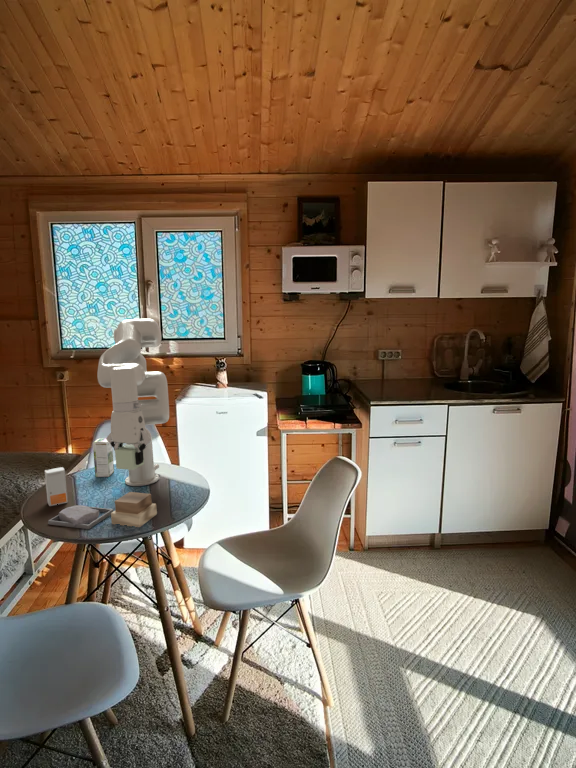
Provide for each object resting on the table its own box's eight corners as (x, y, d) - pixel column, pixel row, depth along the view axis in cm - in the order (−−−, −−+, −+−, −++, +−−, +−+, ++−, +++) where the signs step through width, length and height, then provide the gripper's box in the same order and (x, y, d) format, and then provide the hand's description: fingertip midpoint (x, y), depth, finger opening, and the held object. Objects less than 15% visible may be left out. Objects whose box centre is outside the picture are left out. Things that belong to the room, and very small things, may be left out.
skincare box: (49, 507, 174) (45, 473, 172) (47, 503, 177) (43, 470, 176) (68, 502, 177) (65, 469, 175) (66, 499, 181) (62, 466, 179)
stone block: (85, 517, 171) (55, 522, 164) (86, 503, 172) (56, 507, 164) (104, 525, 164) (74, 530, 156) (105, 510, 164) (75, 515, 156)
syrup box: (100, 472, 208) (97, 438, 206) (114, 472, 208) (111, 437, 206) (95, 477, 203) (91, 442, 200) (109, 477, 202) (106, 441, 200)
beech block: (130, 512, 169) (129, 500, 168) (157, 515, 166) (156, 503, 165) (111, 525, 159) (110, 513, 159) (139, 528, 156) (138, 516, 156)
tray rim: (75, 508, 172) (75, 505, 172) (113, 512, 168) (113, 509, 168) (48, 524, 160) (48, 520, 160) (88, 529, 156) (88, 525, 156)
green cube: (127, 462, 164) (126, 444, 163) (144, 463, 162) (142, 445, 161) (116, 468, 158) (114, 449, 157) (133, 469, 156) (131, 451, 155)
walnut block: (130, 501, 167) (129, 491, 167) (151, 504, 165) (151, 493, 164) (115, 511, 160) (114, 501, 159) (137, 514, 157) (136, 503, 157)
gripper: (157, 405, 158) (160, 461, 161) (109, 403, 163) (114, 457, 166) (143, 410, 151) (148, 468, 154) (94, 408, 156) (99, 464, 159)
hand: (130, 462), depth 160 cm, fingers closed on green cube, 6 cm apart
